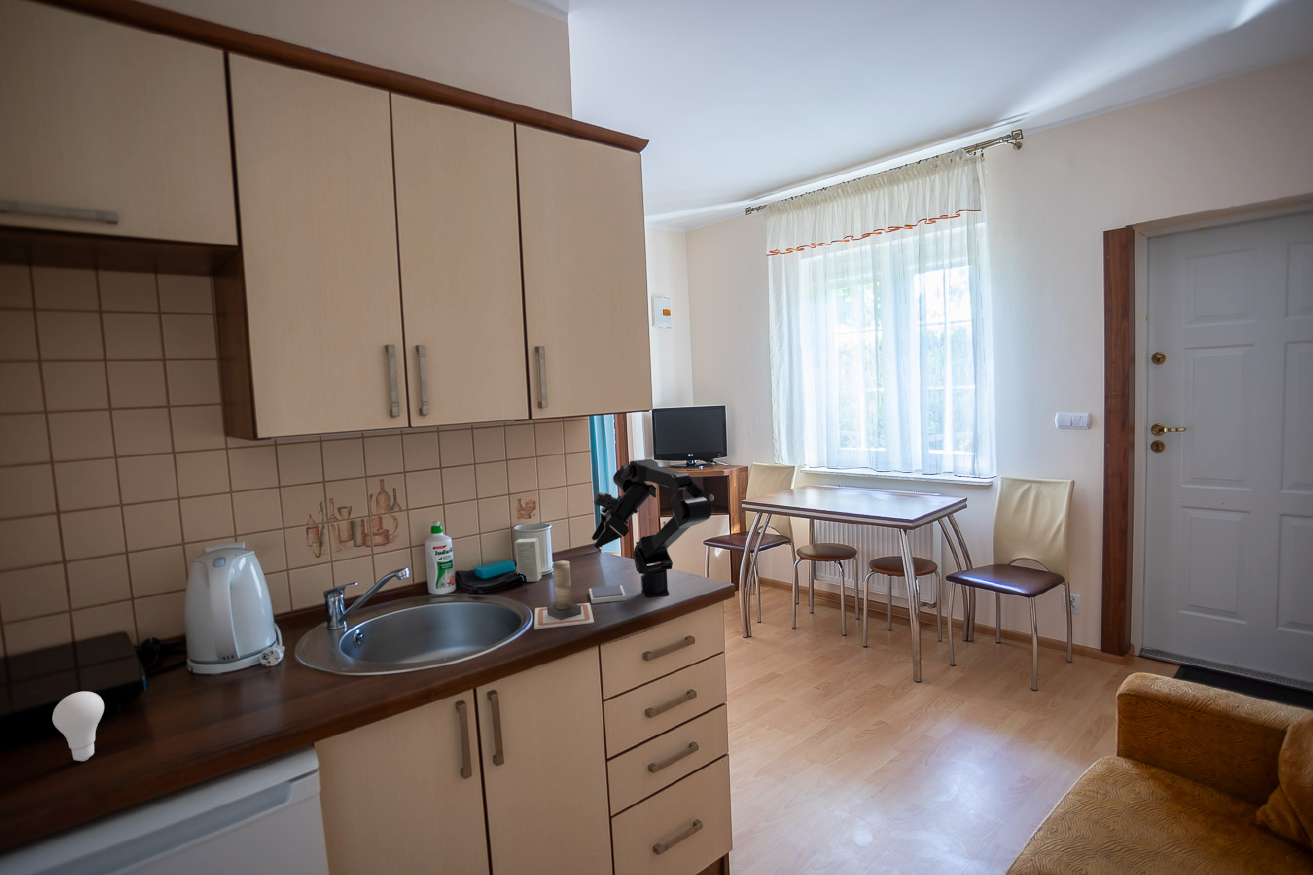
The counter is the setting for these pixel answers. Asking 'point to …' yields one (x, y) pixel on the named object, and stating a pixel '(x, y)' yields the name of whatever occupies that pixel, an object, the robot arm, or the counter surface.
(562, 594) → the stamp
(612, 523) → the robot arm
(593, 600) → the ink pad
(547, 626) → the board
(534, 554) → the skincare box
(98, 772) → the counter surface
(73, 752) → the lightbulb
